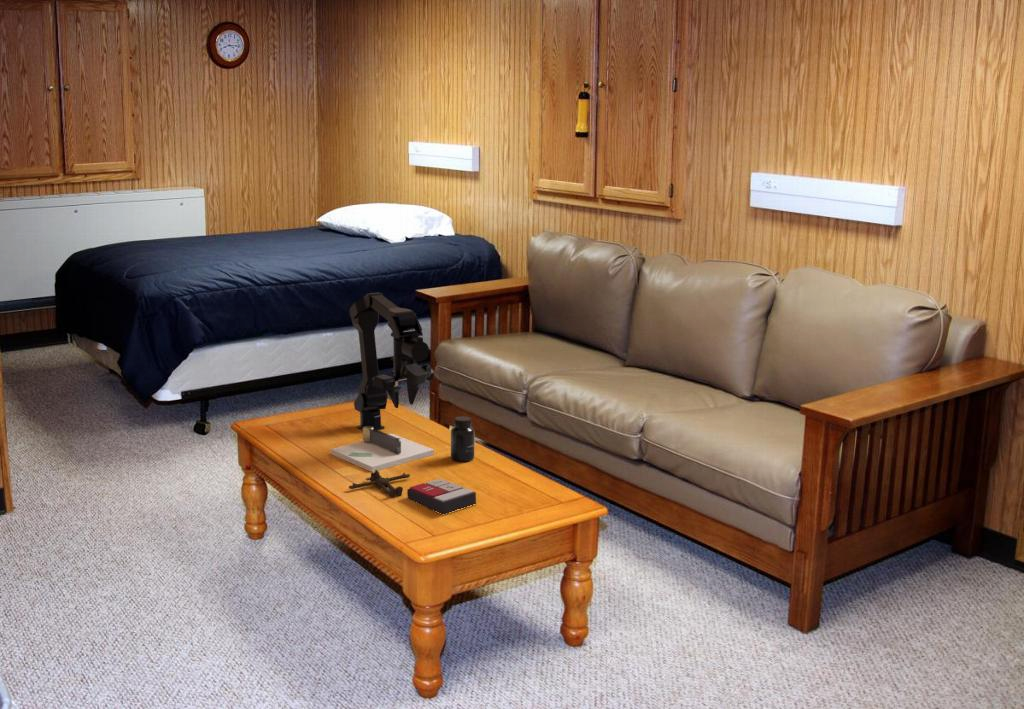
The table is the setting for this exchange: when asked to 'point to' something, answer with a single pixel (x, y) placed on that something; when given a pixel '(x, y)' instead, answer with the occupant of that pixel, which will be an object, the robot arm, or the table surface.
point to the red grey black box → (441, 496)
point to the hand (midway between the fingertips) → (404, 406)
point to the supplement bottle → (462, 440)
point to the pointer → (381, 439)
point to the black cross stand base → (383, 483)
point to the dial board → (381, 454)
